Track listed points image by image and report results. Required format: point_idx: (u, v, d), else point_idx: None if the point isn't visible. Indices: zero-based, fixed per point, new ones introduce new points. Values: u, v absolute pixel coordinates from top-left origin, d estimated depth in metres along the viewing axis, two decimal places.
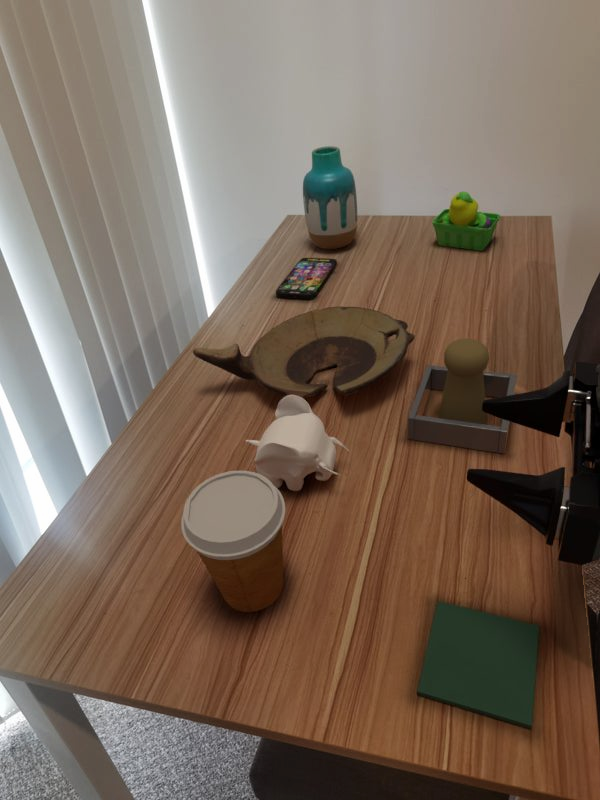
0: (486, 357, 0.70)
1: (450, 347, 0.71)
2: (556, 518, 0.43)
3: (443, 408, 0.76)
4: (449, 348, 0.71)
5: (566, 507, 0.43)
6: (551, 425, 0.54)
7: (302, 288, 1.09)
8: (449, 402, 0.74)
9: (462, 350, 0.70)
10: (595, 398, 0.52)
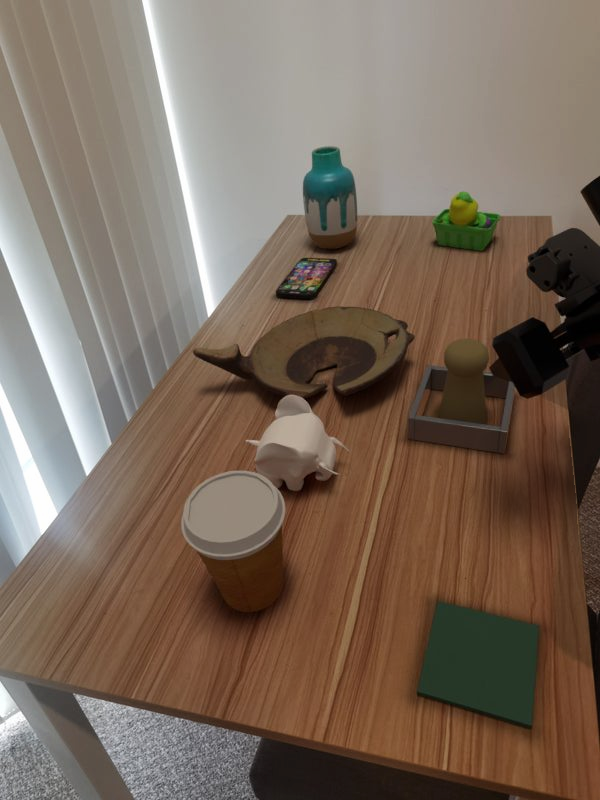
0: (486, 357, 0.70)
1: (450, 347, 0.71)
2: None
3: (443, 408, 0.76)
4: (449, 348, 0.71)
5: None
6: None
7: (302, 288, 1.09)
8: (449, 402, 0.74)
9: (462, 350, 0.70)
10: None
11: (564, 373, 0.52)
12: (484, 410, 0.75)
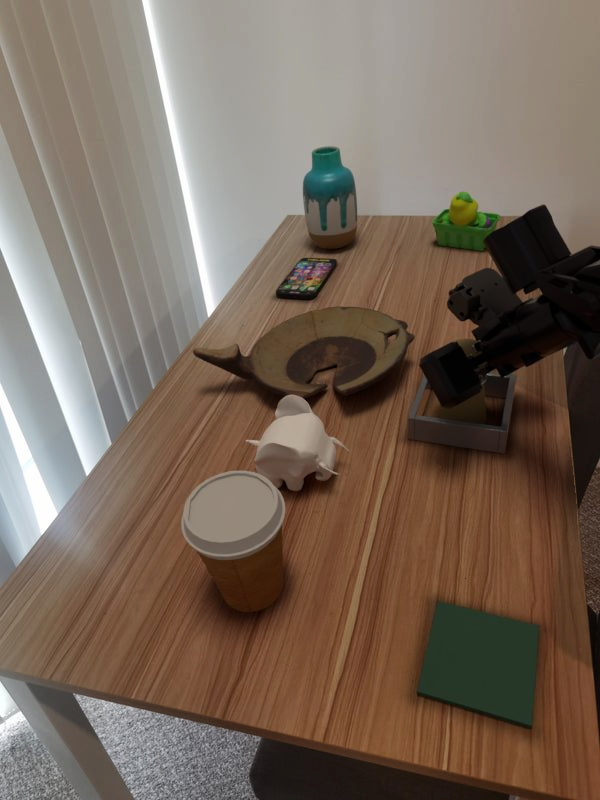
0: None
1: None
2: None
3: (443, 408, 0.76)
4: None
5: None
6: None
7: (302, 288, 1.09)
8: None
9: None
10: None
11: (477, 388, 0.63)
12: (484, 410, 0.75)
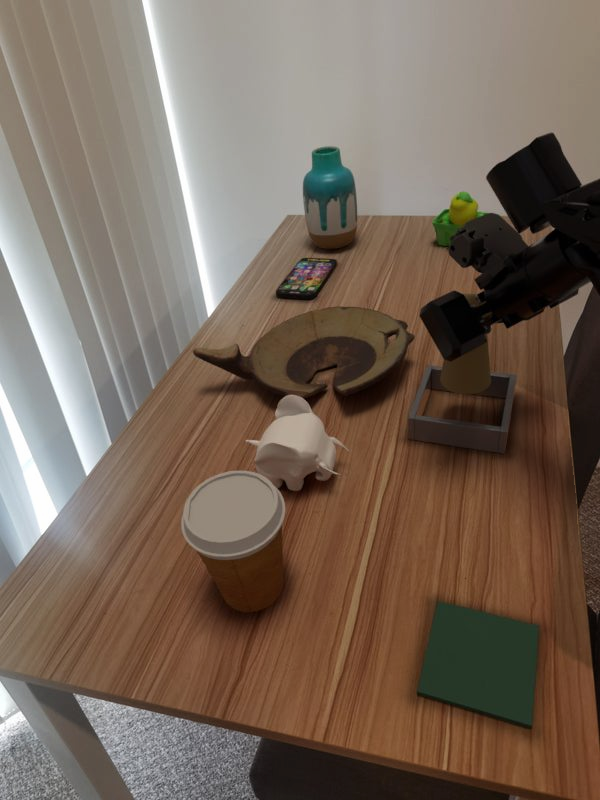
0: None
1: None
2: None
3: (445, 369, 0.72)
4: None
5: None
6: None
7: (302, 288, 1.09)
8: (452, 362, 0.70)
9: None
10: None
11: (481, 338, 0.59)
12: (488, 371, 0.71)
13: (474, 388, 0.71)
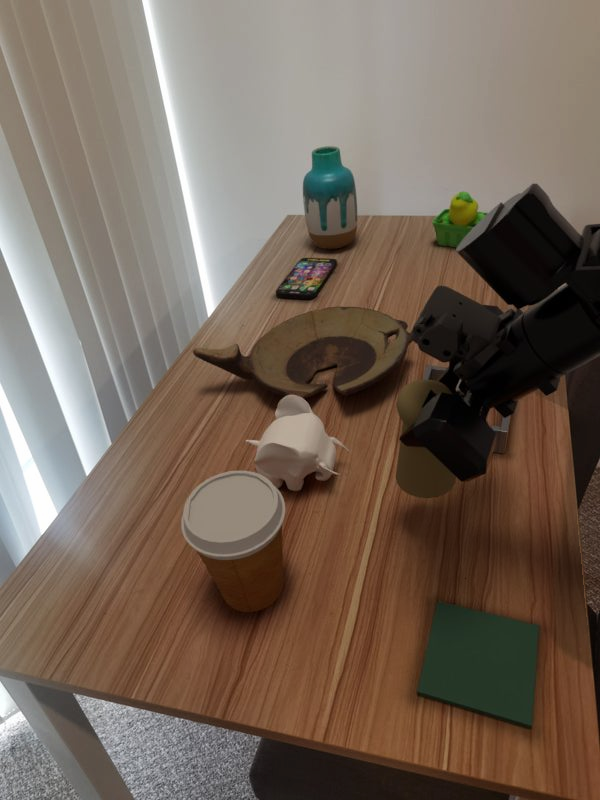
0: None
1: (406, 398, 0.54)
2: None
3: (408, 475, 0.58)
4: (406, 400, 0.54)
5: None
6: None
7: (302, 288, 1.09)
8: (419, 466, 0.57)
9: (425, 398, 0.53)
10: None
11: (494, 442, 0.47)
12: None
13: (448, 486, 0.58)
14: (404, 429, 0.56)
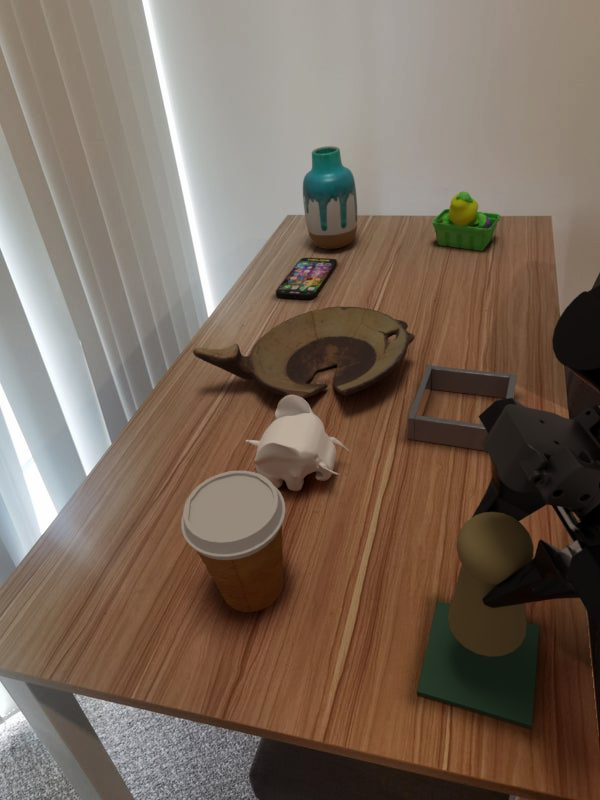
0: None
1: (485, 553, 0.41)
2: None
3: (488, 636, 0.45)
4: (486, 555, 0.40)
5: None
6: (534, 501, 0.45)
7: (302, 288, 1.09)
8: (503, 622, 0.44)
9: (507, 544, 0.41)
10: None
11: None
12: None
13: None
14: (477, 586, 0.43)
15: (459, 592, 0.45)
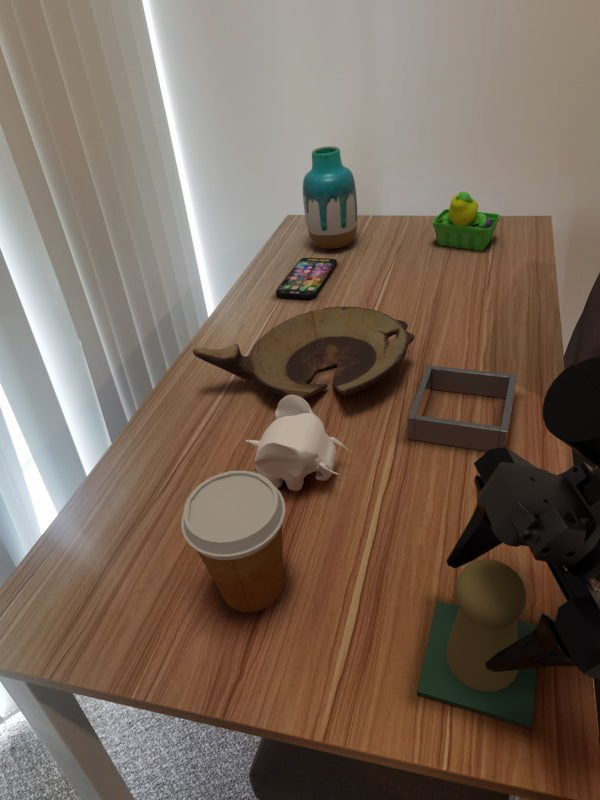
0: None
1: (481, 600, 0.44)
2: None
3: (484, 673, 0.48)
4: (483, 603, 0.44)
5: None
6: None
7: (302, 288, 1.09)
8: None
9: (502, 592, 0.44)
10: None
11: None
12: None
13: None
14: (473, 629, 0.46)
15: (457, 632, 0.49)
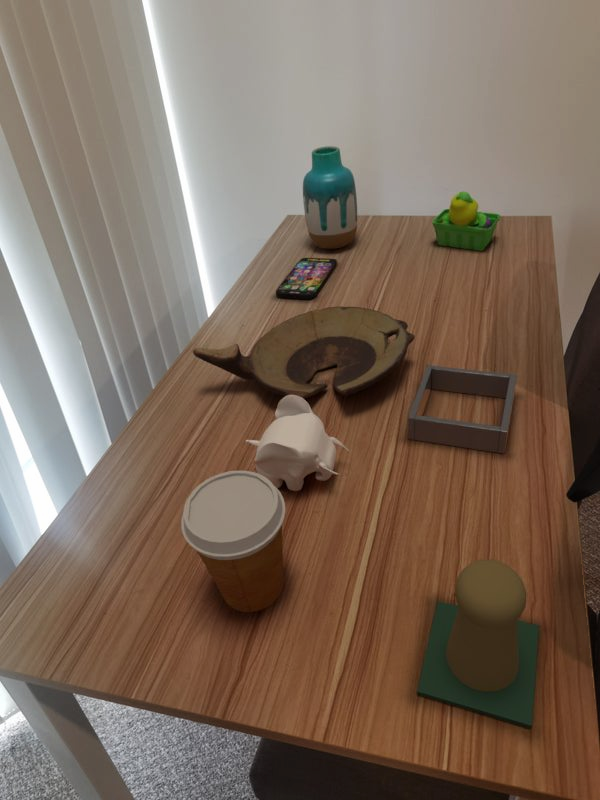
0: None
1: (481, 600, 0.44)
2: None
3: (484, 673, 0.48)
4: (483, 603, 0.44)
5: None
6: None
7: (302, 288, 1.09)
8: (498, 661, 0.47)
9: (502, 592, 0.44)
10: None
11: None
12: None
13: (518, 661, 0.50)
14: (474, 629, 0.46)
15: (457, 632, 0.49)
